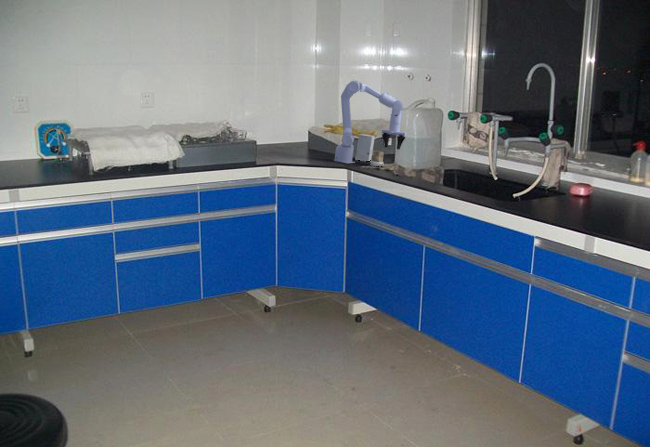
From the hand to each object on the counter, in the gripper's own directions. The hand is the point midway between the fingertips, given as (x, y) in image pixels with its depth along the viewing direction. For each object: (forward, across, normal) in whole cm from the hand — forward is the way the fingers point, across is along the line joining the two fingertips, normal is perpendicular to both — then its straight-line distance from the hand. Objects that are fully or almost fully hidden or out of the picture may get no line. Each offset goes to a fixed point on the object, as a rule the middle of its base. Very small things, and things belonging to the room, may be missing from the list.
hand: (392, 148), depth 369 cm
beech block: (+8, -6, -4) cm, 11 cm away
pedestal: (+10, -6, -4) cm, 13 cm away
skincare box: (+11, -22, +7) cm, 25 cm away
